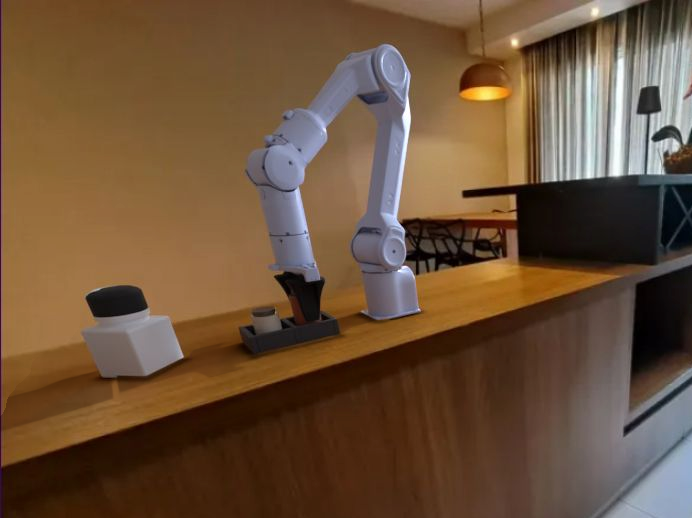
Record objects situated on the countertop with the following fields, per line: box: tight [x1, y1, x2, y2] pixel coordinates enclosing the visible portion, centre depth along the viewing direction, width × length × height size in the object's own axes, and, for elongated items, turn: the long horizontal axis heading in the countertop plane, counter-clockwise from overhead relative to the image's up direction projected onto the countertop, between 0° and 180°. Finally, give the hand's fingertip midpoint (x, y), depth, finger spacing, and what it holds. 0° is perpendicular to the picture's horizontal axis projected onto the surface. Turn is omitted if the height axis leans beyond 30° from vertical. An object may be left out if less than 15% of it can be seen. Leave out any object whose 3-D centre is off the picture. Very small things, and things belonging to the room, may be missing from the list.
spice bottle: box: [288, 290, 322, 326], centre depth 74 cm, size 4×4×8 cm
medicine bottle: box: [80, 284, 185, 379], centre depth 62 cm, size 7×7×12 cm
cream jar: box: [250, 305, 283, 335], centre depth 71 cm, size 4×4×6 cm
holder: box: [238, 310, 341, 355], centre depth 74 cm, size 14×7×3 cm, turn 132°
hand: (308, 317), depth 75 cm, fingers closed on spice bottle, 4 cm apart
